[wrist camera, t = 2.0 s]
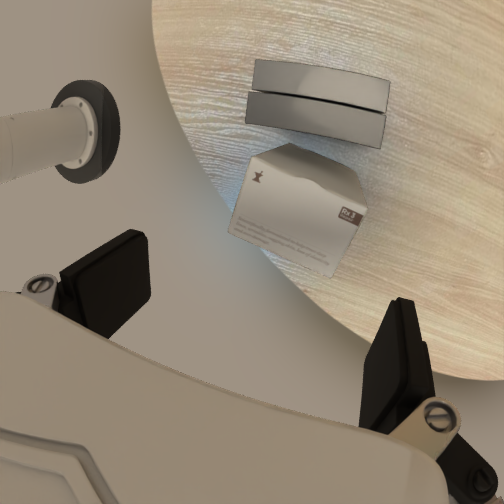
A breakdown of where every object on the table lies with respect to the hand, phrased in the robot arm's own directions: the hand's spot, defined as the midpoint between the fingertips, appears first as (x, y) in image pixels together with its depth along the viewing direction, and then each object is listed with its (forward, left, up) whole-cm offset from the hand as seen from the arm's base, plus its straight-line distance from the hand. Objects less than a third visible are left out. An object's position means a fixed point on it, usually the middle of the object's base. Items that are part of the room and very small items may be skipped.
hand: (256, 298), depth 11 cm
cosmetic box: (-1, 0, -25) cm, 25 cm away
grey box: (-1, +8, -24) cm, 25 cm away
